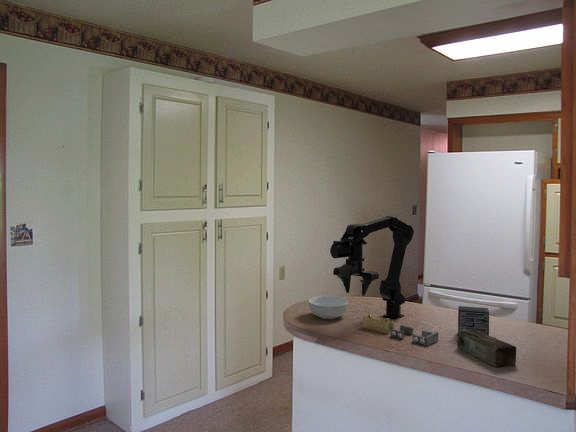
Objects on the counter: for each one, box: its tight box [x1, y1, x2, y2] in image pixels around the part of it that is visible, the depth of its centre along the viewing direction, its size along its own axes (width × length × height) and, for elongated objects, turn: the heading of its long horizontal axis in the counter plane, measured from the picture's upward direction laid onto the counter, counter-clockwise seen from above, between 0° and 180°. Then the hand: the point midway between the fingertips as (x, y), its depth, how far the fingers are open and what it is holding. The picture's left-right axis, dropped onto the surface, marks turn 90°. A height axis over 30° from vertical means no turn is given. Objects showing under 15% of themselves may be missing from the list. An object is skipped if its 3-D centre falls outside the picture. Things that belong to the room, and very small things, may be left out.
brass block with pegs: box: [362, 313, 395, 335], centre depth 181 cm, size 4×12×5 cm, turn 45°
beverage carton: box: [457, 330, 517, 368], centre depth 153 cm, size 8×19×7 cm, turn 17°
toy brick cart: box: [390, 324, 439, 347], centre depth 170 cm, size 9×15×3 cm, turn 45°
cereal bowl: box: [308, 295, 349, 320], centre depth 198 cm, size 17×17×7 cm
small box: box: [457, 305, 490, 336], centre depth 172 cm, size 11×6×10 cm, turn 71°
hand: (355, 294), depth 188 cm, fingers open, 7 cm apart
